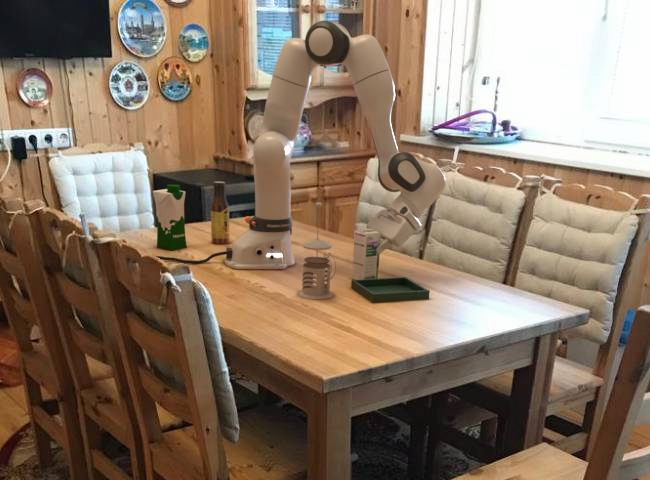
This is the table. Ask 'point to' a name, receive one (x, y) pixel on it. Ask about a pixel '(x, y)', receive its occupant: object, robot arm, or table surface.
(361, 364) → the table surface
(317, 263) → the french press
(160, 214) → the milk carton
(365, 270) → the syrup box
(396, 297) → the tray
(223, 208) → the sauce bottle
